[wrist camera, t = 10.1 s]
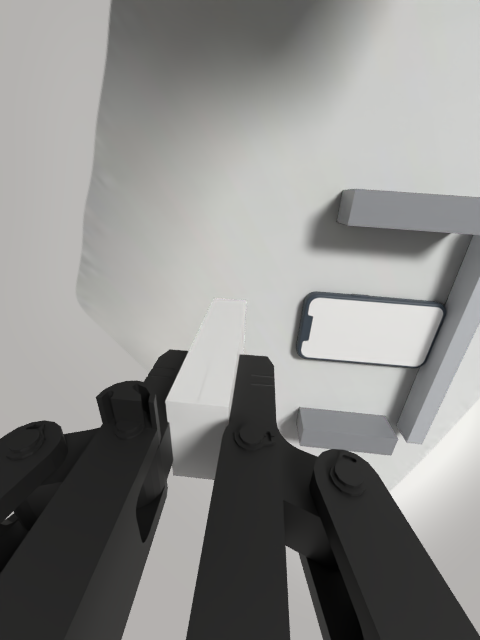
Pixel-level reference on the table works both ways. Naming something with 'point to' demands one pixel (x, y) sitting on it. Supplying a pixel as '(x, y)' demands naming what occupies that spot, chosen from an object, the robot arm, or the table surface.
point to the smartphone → (368, 329)
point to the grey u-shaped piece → (452, 340)
